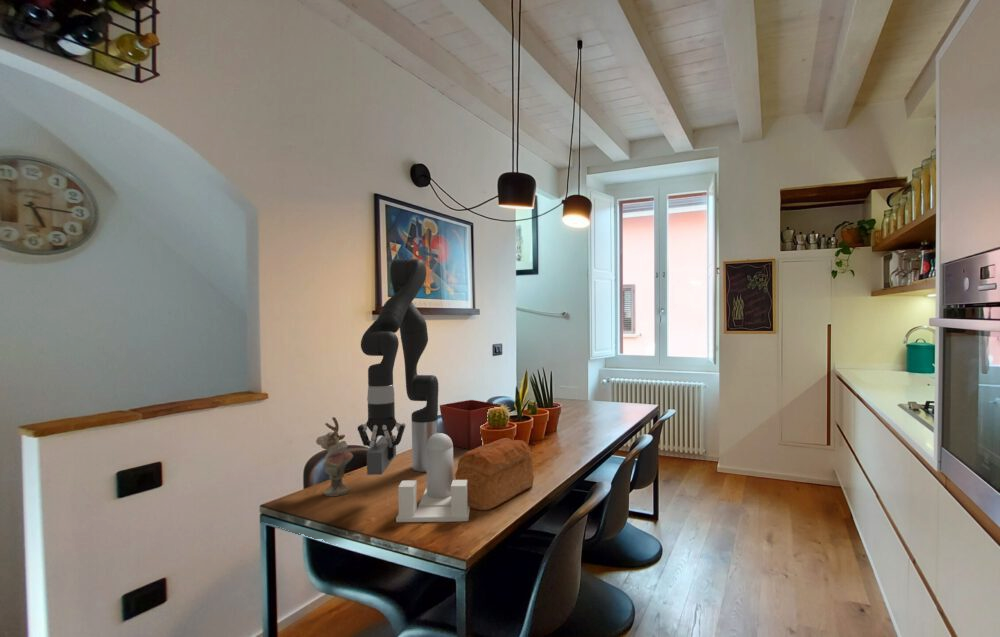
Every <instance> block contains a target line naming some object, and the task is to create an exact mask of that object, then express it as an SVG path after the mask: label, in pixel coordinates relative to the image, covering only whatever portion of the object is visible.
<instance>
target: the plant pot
mask: <svg viewBox="0 0 1000 637" xmlns="http://www.w3.org/2000/svg"><path fill="white" fill-rule="evenodd" d="M501 406H502V405H501V404H499V403H493V402H488V401H481V400H476V399H475V400H474V399H468V400H467V399H466V400H462V401H456V402H455V401H454V402H449V403H445V404H440V405H439V410H440V417H441V420H442V425H443V428H444V431H445V434H446V435H448V436H449V437H450V438H451V440H452V443H453V446H455V447H458V448H462V449H465V448H466V449H467V450H473V448H474V449H475V448H478V447H479V446H482V440H481V434H480V426H481V425H483V424H485V423H486V422H487V412H488V409H490V408H494V407H501Z"/></svg>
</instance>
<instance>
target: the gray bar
mask: <svg viewBox="0 0 1000 637" xmlns="http://www.w3.org/2000/svg"><path fill="white" fill-rule="evenodd" d="M396 437H397V435H393V440H394V441H395V440H396ZM388 448H389V446H388V443H387V440H386V437H385V436H381V437H380V438H379V439H377V441H376V443H375V444H374V446H373V447H372V448H371V449H370V448H369V449H368V451H367V452H366V475H368V476H369V475H372V476H374V475H377V476H378V475H380V476H381V475H383V473H384V472H385V471H386V469H387V468H388V467H389V466H390V464H391V463H392V461H393V460H394V459H395V457H396V456H397V445H395V446H394V457H393V458H392V459H391V460H389V459H388Z"/></svg>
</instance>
